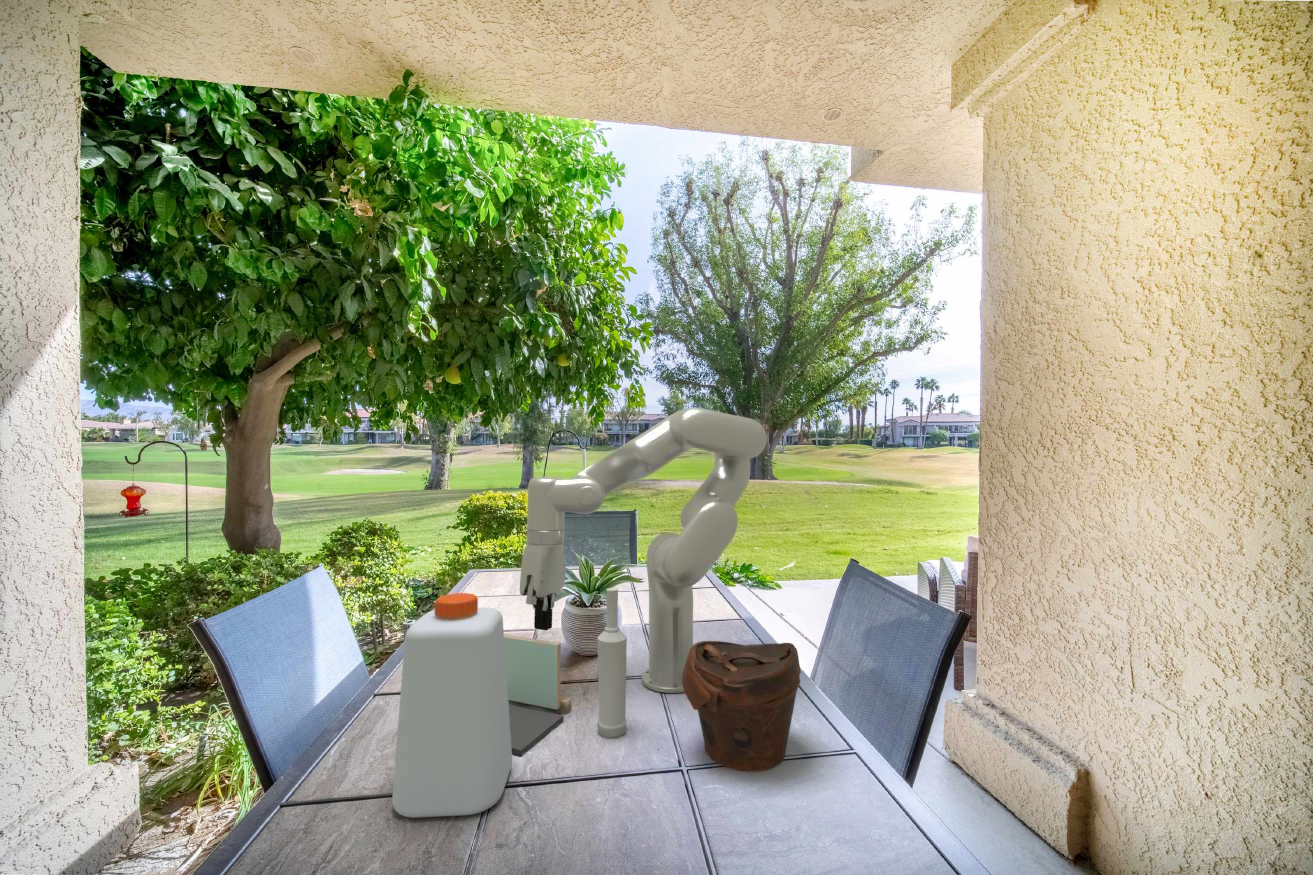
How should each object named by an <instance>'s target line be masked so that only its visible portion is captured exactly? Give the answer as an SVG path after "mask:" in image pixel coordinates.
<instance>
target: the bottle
mask: <svg viewBox="0 0 1313 875" xmlns="http://www.w3.org/2000/svg"><path fill="white" fill-rule="evenodd" d="M605 589H606V592H605V594H606V595H605V596H606V598H605V600H606V625H605V627H604V630H603V631H602V632H601V633H600V634H599V635H598V636H597V674H598V675H597V677H598V678H597V679H598V721H597V730H598V732H599V733H598V734H599V735H600V736H601V737H604V738H608V739H609V738H610V739H614V738H619V737H622V736H623V735H625V733H626V731H627V727H628V720H627V718H626V705H627V704H626V703H627V702H626V698H627V696H626V694H627V689H626V688H627V647H628V646H627V645H628V644H627V642H628V637H627V635H626V634H625V633H624V632H623V631H622V630H621V628H620V626H619V624H618V622H619V620H618V618H619V617H618V614H619V613H618V612H619V611H618V608H619V607H618V605H619V604H618V600H619V597H618V596H619V589H618V588H617V587H609V588H605Z"/></svg>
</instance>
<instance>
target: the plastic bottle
mask: <svg viewBox="0 0 1313 875" xmlns="http://www.w3.org/2000/svg"><path fill="white" fill-rule="evenodd" d="M478 600H479V598H478V597H477V595H476V594H473V593H468V592H467V593H466V592H458V593H457V592H456V593H449V594H448V593H447V594H445V595H441V596H439V597H437V599H435V601H434V609H433V610H430V611H428V612H426V613H424V614H423V615H422V616H421V617H420V618H419V619H417V620H416V621H415V622H414V623H413V624H412V625H411V626H410V627H409V628H408V629H407V631H406V632H405V636H404V643H403V644H404V646H403V647H404V648H403V657H402V658H403V660H402V671H401V682H400V683H401V685H400V698H399V711H398V722H397V723H398V724H397V733H396V734H397V737H396V748H395V757H394V758H395V760H394V772H393V773H394V774H393V785H392V786H393V787H392V798H391V803H392V806H393V809H394V810H395V812H397V813H398V815H401V816H403V817H405V818H416V819H417V818H437V817H439V818H440V817H457V816H471V815H477V814H480V813H483V812H485V811H487V810H489V809H491V808H492V807H493V806H495V805H496V804H497V803H498V802H499V800H500V799H501V798H502V795H503V793H504V790H505V787H506V784H507V780H508V778H509V775H510V771H511V768H512V766H513V754H512V748H511V733H510V719H509V704H508V690H507V675H506V660H505V646H504V635H505V634H504V619H503V614H502V613H501V611H499V610H498V609H496V608H493V607H479V602H478Z"/></svg>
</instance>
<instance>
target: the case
mask: <svg viewBox="0 0 1313 875" xmlns="http://www.w3.org/2000/svg"><path fill="white" fill-rule="evenodd" d="M799 658H800V657H799V653H798V650H797V647H796V646H795V644H793V643H791V642H782V643H762V644H761V643H760V644H758V643H757V644H755V643H754V644H746V645H745V644H738V643H735V642H729V641H728V642H727V641H720V640H704V641H703V640H702V641H698V642H695V643H693V646H692V647H691V649H690V652H689V654H688V658H687V661H686V664H685V667H684V670H683V676H682V684H683V688H684V691H685V692H684V694H685V696H686V697H687V700H688V702H689V703H690V705H691V707H692V708H693V710H695V711H696V710H697V713H698V714H697V715H698V718H699V723H700V728H701V733H702V736H703V742H704V750H705V752H706V755H707V756H708V757H709V758H710V759H711V761H713V762H715V763H716V764H719V765H721V766H723V767H726V768H728V769H731V770H736V771H741V772H761V771H769V770H771V769H774V768H776V767H777V766H779V765H780V764H782V763H783V761H784V759H785V756H786V753H787V752H786V751H787V747H788V740H789V735H790V731H791V730H790V729H791V726H792V718H793V714H794V708H795V707H794V706H795V703H796V697H797V691H798V689H799V686H800V683H801V680H800V678H801V677H800V676H801V673H802V671H801V664H800V659H799Z"/></svg>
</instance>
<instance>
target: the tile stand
mask: <svg viewBox="0 0 1313 875" xmlns="http://www.w3.org/2000/svg"><path fill="white" fill-rule="evenodd" d="M508 704H509V705H514V706H519V707H524V708H529V709H534V710H539V711H544V712H548V713H553V714H558V715H562V714H563V715H567V714H569V712H571V711H572V698H571V697H566V696H561V707H560V708H559V709H558V710H556V709H551V708H546V707H541V706H536V705H531V704H526V703H521V702H516V701H511V700H508Z"/></svg>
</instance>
